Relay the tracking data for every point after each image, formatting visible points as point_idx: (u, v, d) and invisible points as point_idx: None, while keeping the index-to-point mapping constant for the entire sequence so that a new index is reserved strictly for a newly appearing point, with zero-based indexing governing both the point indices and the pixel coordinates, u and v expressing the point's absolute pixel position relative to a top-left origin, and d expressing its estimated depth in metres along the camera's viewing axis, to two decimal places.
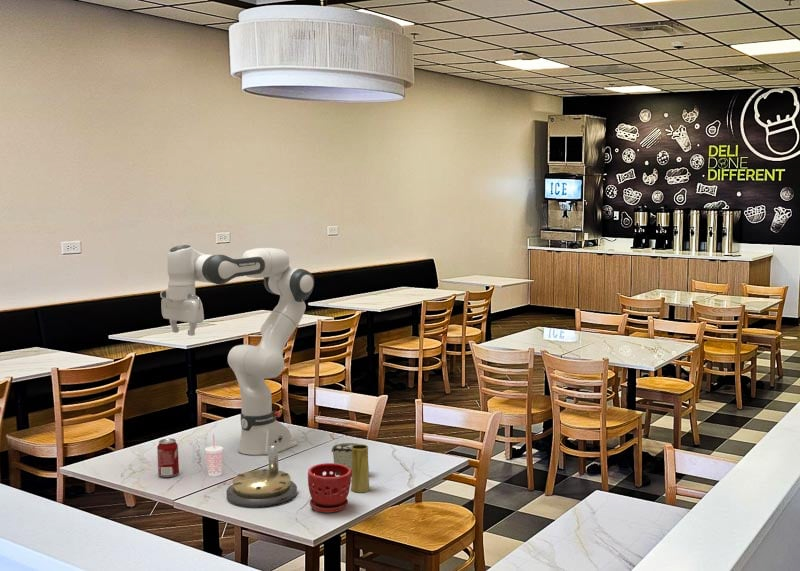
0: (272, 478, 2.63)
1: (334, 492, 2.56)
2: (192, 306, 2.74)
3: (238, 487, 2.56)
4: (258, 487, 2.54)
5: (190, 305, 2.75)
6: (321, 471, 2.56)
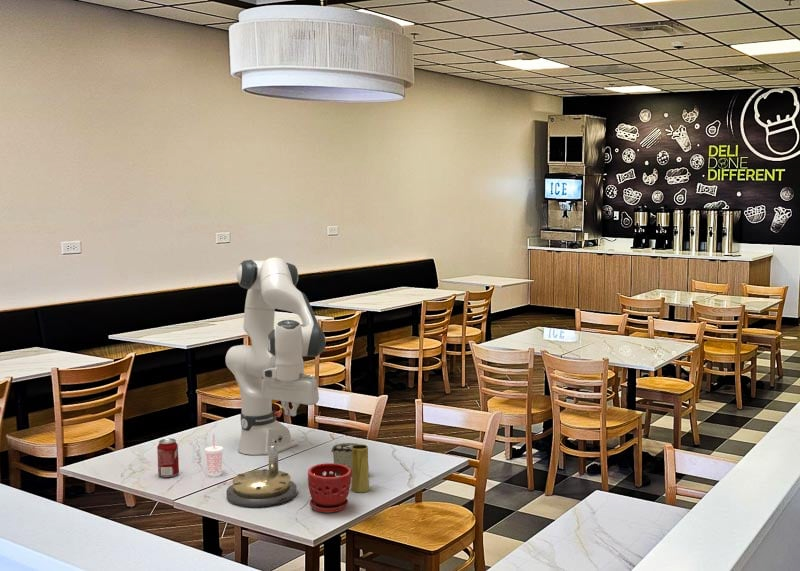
0: (272, 478, 2.63)
1: (334, 492, 2.56)
2: (308, 387, 2.56)
3: (238, 487, 2.56)
4: (258, 487, 2.54)
5: (306, 386, 2.56)
6: (321, 471, 2.56)
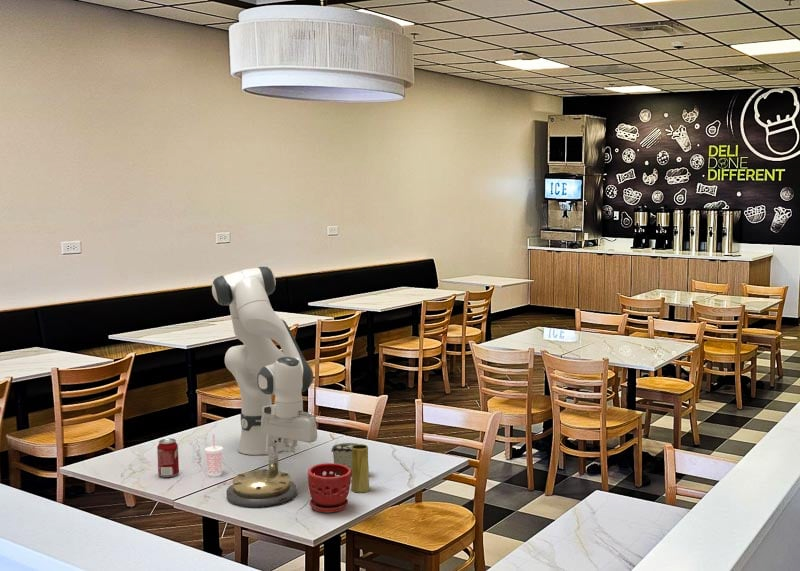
0: (272, 478, 2.63)
1: (334, 492, 2.56)
2: (307, 424, 2.57)
3: (238, 487, 2.56)
4: (258, 487, 2.54)
5: (305, 423, 2.57)
6: (321, 471, 2.56)
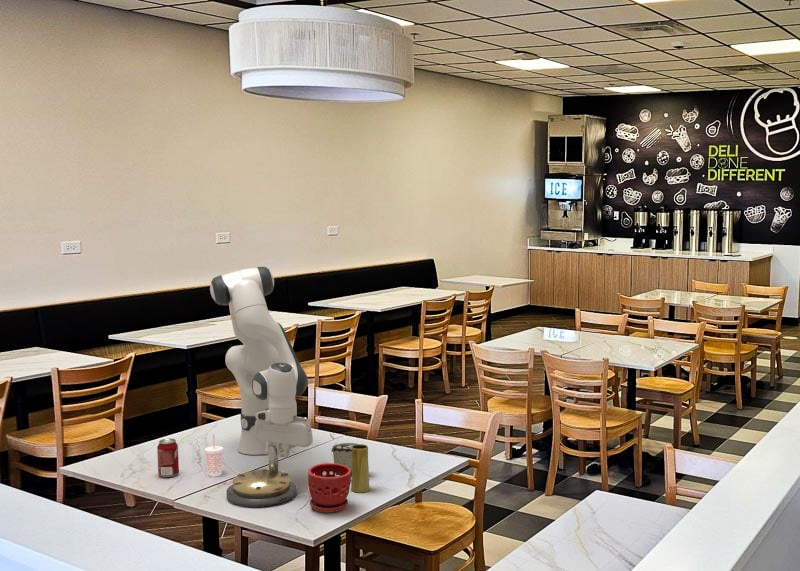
0: (272, 478, 2.63)
1: (334, 492, 2.56)
2: (303, 429, 2.60)
3: (238, 487, 2.56)
4: (258, 487, 2.54)
5: (300, 428, 2.60)
6: (321, 471, 2.56)
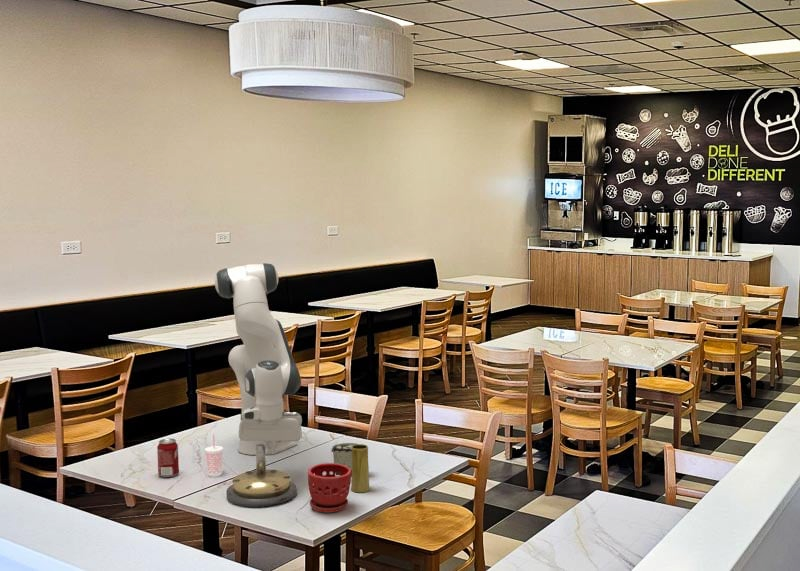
0: (270, 476, 2.65)
1: (334, 492, 2.56)
2: (295, 423, 2.65)
3: (254, 489, 2.54)
4: (275, 485, 2.56)
5: (292, 423, 2.65)
6: (321, 471, 2.56)
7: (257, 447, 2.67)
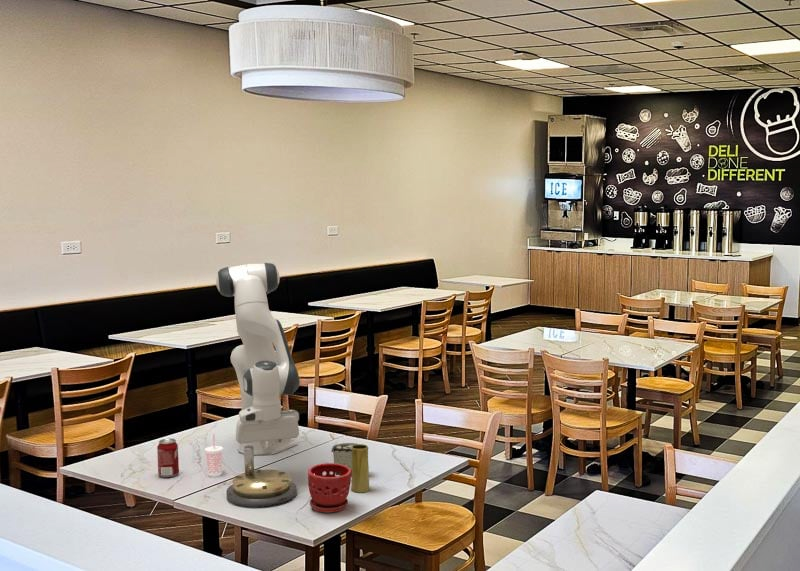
0: (265, 475, 2.66)
1: (334, 492, 2.56)
2: (294, 420, 2.70)
3: (272, 488, 2.55)
4: (285, 480, 2.60)
5: (292, 420, 2.69)
6: (321, 471, 2.56)
7: (248, 449, 2.65)
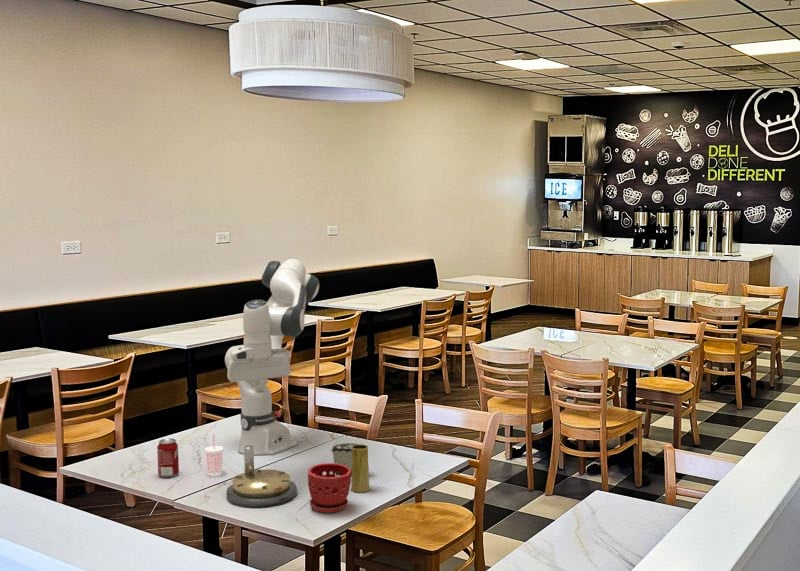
0: (265, 475, 2.66)
1: (334, 492, 2.56)
2: (285, 359, 2.71)
3: (272, 488, 2.55)
4: (285, 480, 2.60)
5: (283, 359, 2.71)
6: (321, 471, 2.56)
7: (248, 449, 2.65)
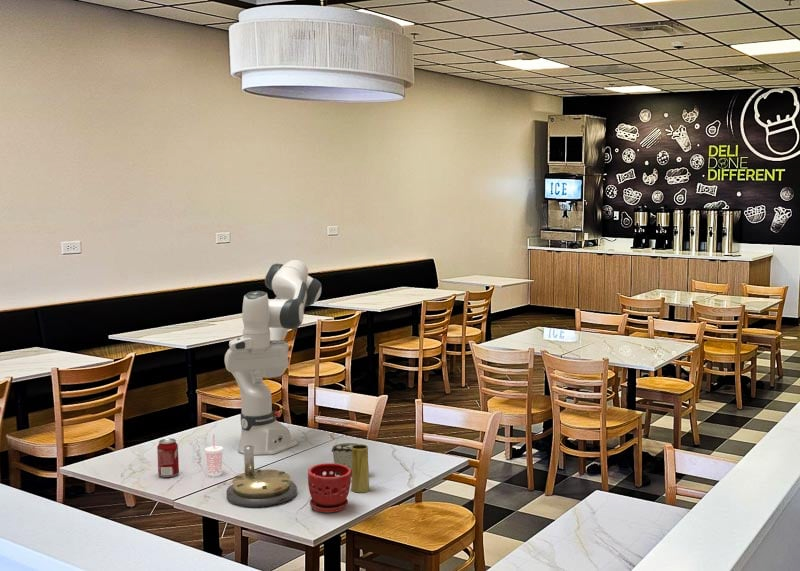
0: (265, 475, 2.66)
1: (334, 492, 2.56)
2: (284, 350, 2.73)
3: (272, 488, 2.55)
4: (285, 480, 2.60)
5: (281, 350, 2.73)
6: (321, 471, 2.56)
7: (248, 449, 2.65)
